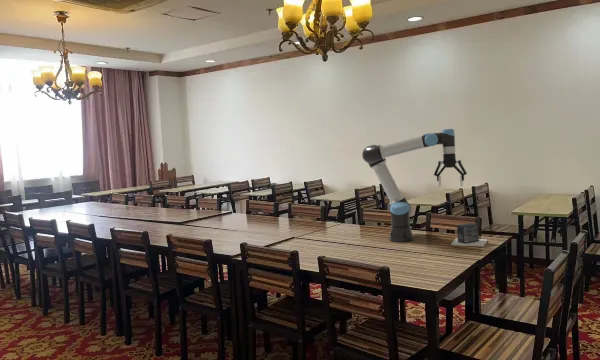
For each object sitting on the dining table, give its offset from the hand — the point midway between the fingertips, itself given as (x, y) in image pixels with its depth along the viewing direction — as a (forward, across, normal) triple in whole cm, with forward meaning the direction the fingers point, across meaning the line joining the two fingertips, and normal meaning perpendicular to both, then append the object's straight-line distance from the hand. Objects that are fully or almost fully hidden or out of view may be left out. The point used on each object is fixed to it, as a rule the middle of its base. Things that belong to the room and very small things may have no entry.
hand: (450, 186), depth 305 cm
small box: (+31, -14, +22) cm, 40 cm away
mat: (+32, -14, +21) cm, 41 cm away
